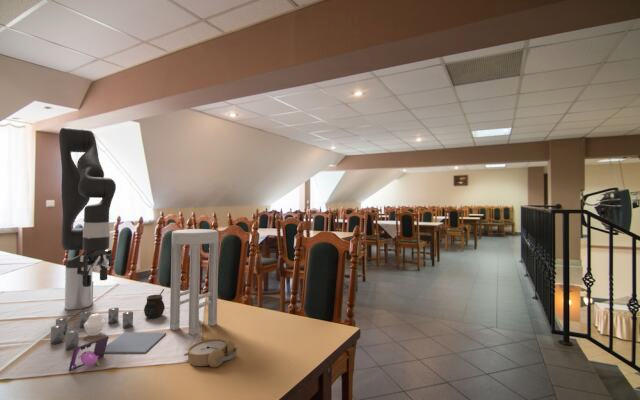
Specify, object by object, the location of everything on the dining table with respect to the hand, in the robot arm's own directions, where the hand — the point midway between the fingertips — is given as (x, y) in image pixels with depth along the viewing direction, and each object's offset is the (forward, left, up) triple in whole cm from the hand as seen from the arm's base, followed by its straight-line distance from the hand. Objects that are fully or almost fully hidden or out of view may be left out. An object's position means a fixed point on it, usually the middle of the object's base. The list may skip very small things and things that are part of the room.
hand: (95, 283), depth 110 cm
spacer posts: (0, -2, -17) cm, 17 cm away
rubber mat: (+7, +17, -17) cm, 25 cm away
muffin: (0, 0, -18) cm, 18 cm away
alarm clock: (+17, +45, -18) cm, 51 cm away
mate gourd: (-17, +12, -18) cm, 27 cm away
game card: (+21, +13, -18) cm, 30 cm away
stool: (-7, +31, -18) cm, 36 cm away
